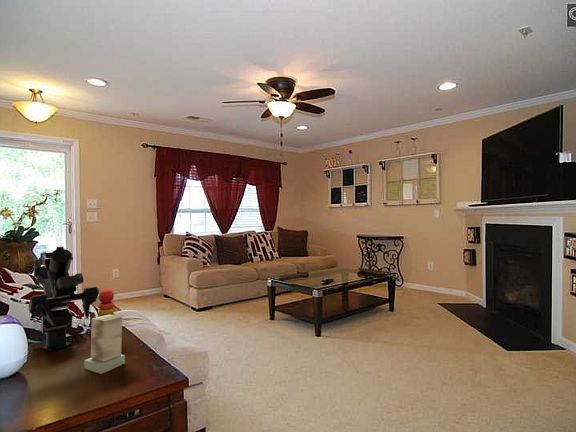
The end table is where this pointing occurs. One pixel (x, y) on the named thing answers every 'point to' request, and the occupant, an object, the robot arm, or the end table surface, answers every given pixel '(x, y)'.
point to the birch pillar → (106, 337)
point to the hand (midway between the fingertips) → (71, 321)
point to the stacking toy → (106, 303)
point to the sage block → (103, 364)
